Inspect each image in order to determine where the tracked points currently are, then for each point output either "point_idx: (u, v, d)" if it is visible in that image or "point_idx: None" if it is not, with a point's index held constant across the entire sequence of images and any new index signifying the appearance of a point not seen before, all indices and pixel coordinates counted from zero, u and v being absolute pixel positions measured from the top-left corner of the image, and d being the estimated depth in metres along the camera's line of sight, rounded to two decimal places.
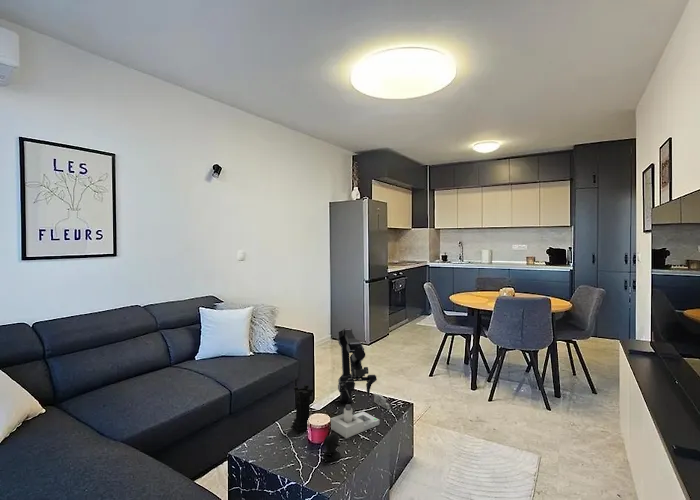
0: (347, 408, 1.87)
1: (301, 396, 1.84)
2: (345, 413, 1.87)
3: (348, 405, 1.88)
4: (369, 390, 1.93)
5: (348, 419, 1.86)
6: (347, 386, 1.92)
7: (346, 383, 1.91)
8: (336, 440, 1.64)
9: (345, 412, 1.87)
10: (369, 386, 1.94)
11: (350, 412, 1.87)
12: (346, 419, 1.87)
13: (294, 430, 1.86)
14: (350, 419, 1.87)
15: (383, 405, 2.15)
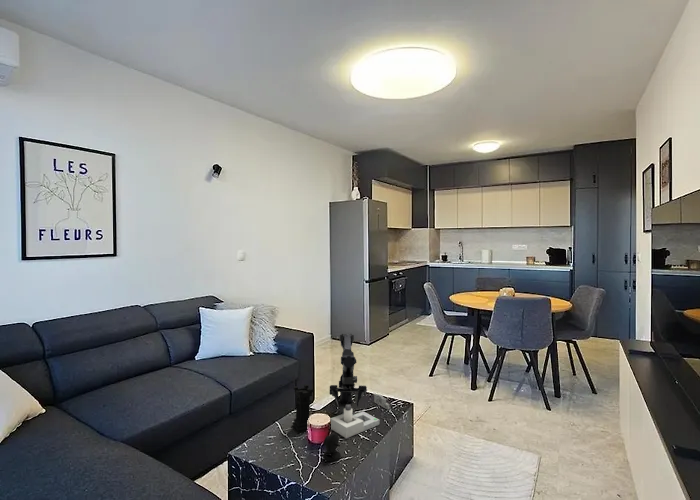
0: (347, 408, 1.87)
1: (301, 396, 1.84)
2: (345, 413, 1.87)
3: (348, 405, 1.88)
4: (358, 400, 1.92)
5: (348, 419, 1.86)
6: (336, 395, 1.93)
7: (335, 391, 1.93)
8: (336, 440, 1.64)
9: (345, 412, 1.87)
10: (359, 396, 1.94)
11: (350, 412, 1.87)
12: (346, 419, 1.87)
13: (294, 430, 1.86)
14: (350, 419, 1.87)
15: (383, 405, 2.15)
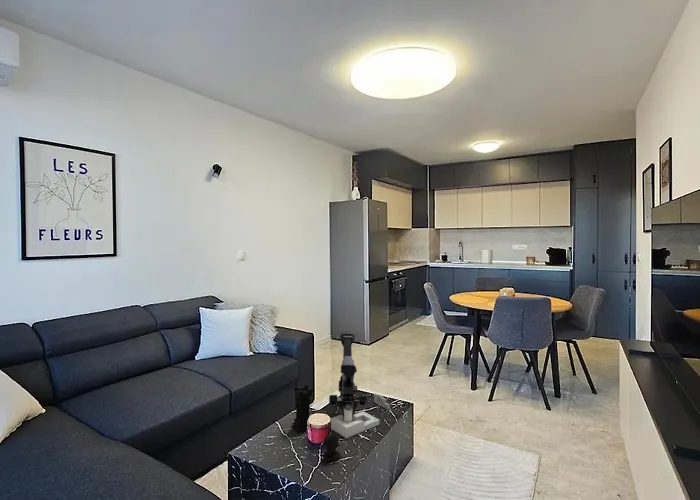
0: (347, 408, 1.87)
1: (301, 396, 1.84)
2: (345, 413, 1.87)
3: (348, 405, 1.88)
4: (354, 411, 1.88)
5: (348, 419, 1.86)
6: (341, 405, 1.89)
7: (340, 402, 1.90)
8: (336, 440, 1.64)
9: (345, 412, 1.87)
10: (354, 406, 1.89)
11: (350, 412, 1.87)
12: (346, 419, 1.87)
13: (294, 430, 1.86)
14: (350, 419, 1.87)
15: (383, 405, 2.15)
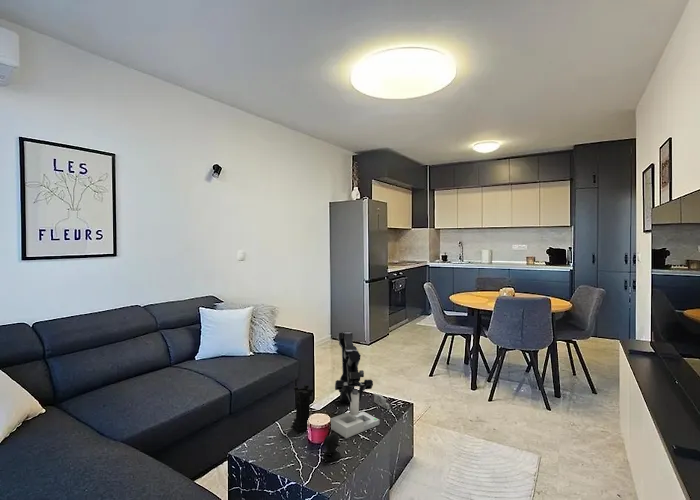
0: (354, 392, 1.89)
1: (301, 396, 1.84)
2: (352, 397, 1.89)
3: (355, 389, 1.90)
4: None
5: (356, 403, 1.89)
6: (347, 390, 1.91)
7: (346, 387, 1.91)
8: (336, 440, 1.64)
9: (352, 396, 1.89)
10: (361, 391, 1.92)
11: (357, 396, 1.89)
12: (353, 403, 1.89)
13: (294, 430, 1.86)
14: (357, 403, 1.89)
15: (383, 405, 2.15)
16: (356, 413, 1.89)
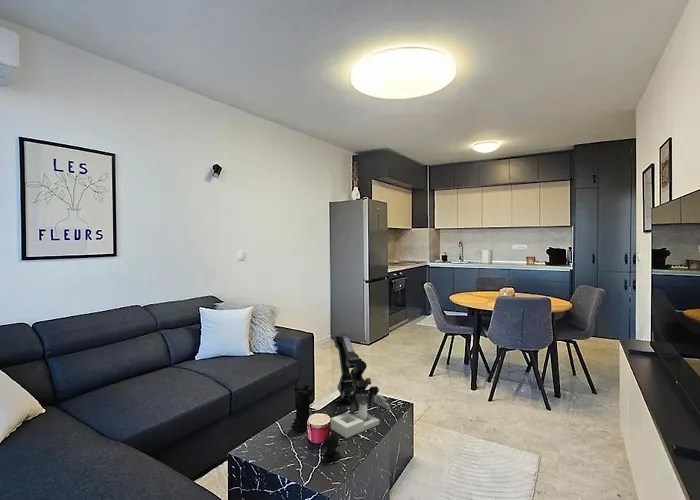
0: (363, 403, 1.94)
1: (301, 396, 1.84)
2: (361, 408, 1.93)
3: (363, 400, 1.95)
4: (370, 401, 1.96)
5: (364, 414, 1.93)
6: (354, 398, 1.95)
7: (353, 395, 1.95)
8: (336, 440, 1.64)
9: (361, 407, 1.93)
10: (370, 398, 1.97)
11: (366, 406, 1.94)
12: (362, 414, 1.93)
13: (294, 430, 1.86)
14: (366, 413, 1.94)
15: (383, 405, 2.15)
16: None
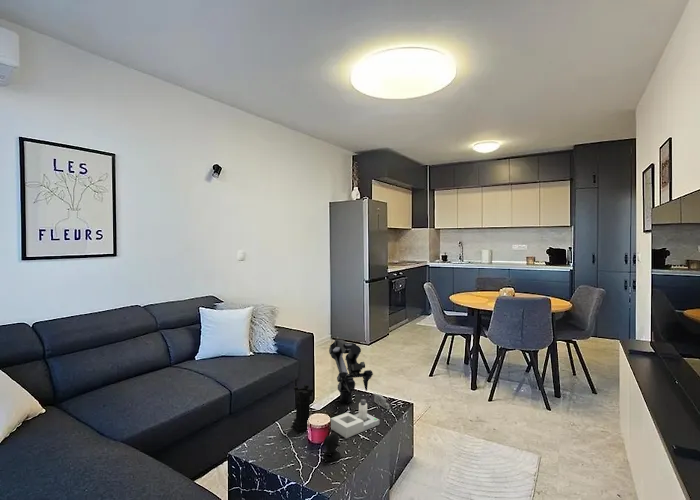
0: (363, 403, 1.94)
1: (301, 396, 1.84)
2: (361, 408, 1.93)
3: (363, 400, 1.95)
4: (367, 384, 2.05)
5: (364, 414, 1.93)
6: (346, 381, 2.03)
7: (345, 378, 2.03)
8: (336, 440, 1.64)
9: (361, 407, 1.93)
10: (366, 380, 2.06)
11: (366, 406, 1.94)
12: (362, 413, 1.93)
13: (294, 430, 1.86)
14: (366, 413, 1.94)
15: (383, 405, 2.15)
16: None
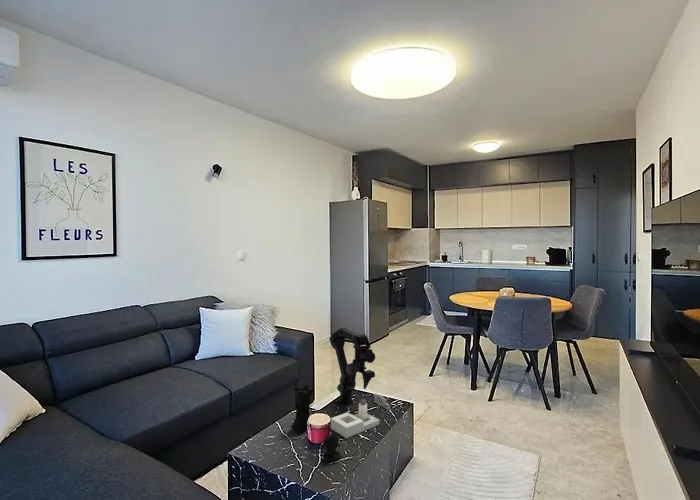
0: (363, 403, 1.94)
1: (301, 396, 1.84)
2: (361, 408, 1.93)
3: (363, 400, 1.95)
4: (364, 384, 2.06)
5: (364, 413, 1.93)
6: (350, 374, 2.14)
7: None
8: (336, 440, 1.64)
9: (361, 407, 1.93)
10: (364, 381, 2.06)
11: (366, 406, 1.94)
12: (362, 413, 1.93)
13: (294, 430, 1.86)
14: (366, 413, 1.94)
15: (383, 405, 2.15)
16: None
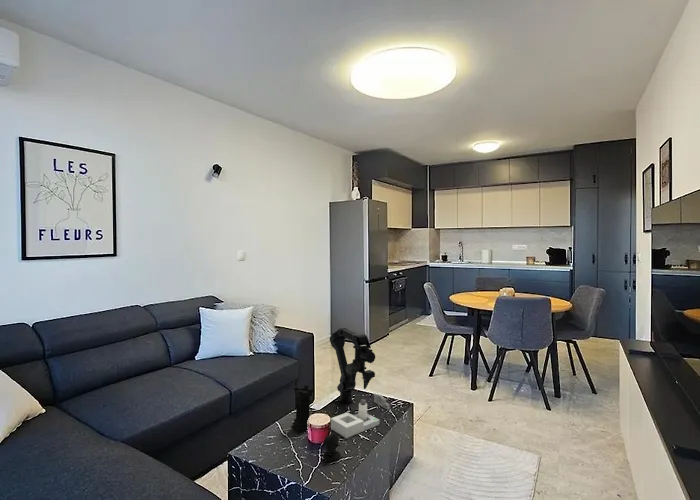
0: (363, 403, 1.94)
1: (301, 396, 1.84)
2: (361, 408, 1.93)
3: (363, 400, 1.95)
4: (364, 384, 2.06)
5: (364, 413, 1.93)
6: (350, 374, 2.14)
7: None
8: (336, 440, 1.64)
9: (361, 407, 1.93)
10: (364, 381, 2.06)
11: (366, 406, 1.94)
12: (362, 413, 1.93)
13: (294, 430, 1.86)
14: (366, 413, 1.94)
15: (383, 405, 2.15)
16: None
